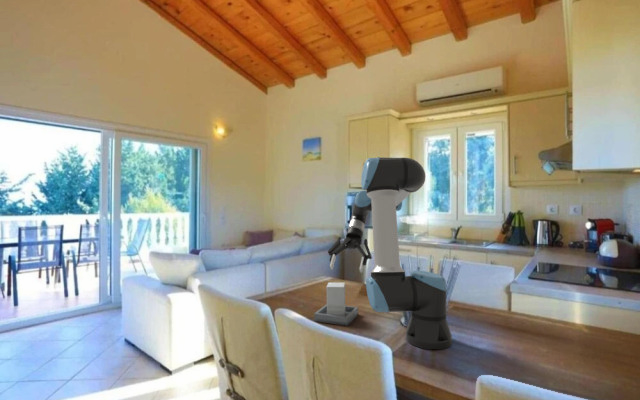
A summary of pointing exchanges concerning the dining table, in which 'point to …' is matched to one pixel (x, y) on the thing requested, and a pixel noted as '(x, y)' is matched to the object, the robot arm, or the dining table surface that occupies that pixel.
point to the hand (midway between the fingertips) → (345, 269)
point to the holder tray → (324, 317)
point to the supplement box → (336, 299)
